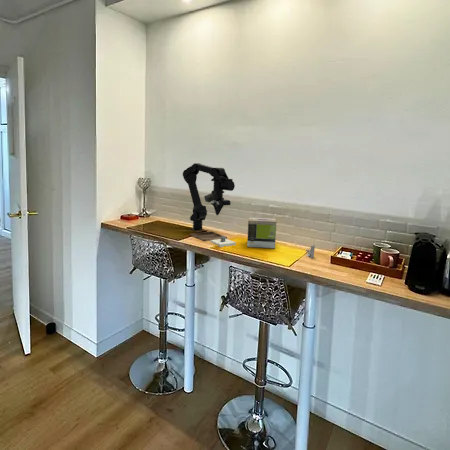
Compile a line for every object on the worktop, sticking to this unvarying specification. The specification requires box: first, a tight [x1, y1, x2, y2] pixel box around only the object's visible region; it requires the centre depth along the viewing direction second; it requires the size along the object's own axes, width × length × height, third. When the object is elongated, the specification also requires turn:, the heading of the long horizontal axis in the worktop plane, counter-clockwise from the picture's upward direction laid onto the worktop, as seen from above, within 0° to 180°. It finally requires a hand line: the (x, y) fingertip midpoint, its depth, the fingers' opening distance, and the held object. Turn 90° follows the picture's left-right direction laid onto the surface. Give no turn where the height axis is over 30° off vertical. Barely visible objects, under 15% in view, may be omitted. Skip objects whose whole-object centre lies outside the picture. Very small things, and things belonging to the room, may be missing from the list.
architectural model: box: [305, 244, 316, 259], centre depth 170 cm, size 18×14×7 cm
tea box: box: [246, 217, 277, 249], centre depth 189 cm, size 15×10×15 cm, turn 84°
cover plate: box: [209, 235, 237, 248], centre depth 190 cm, size 10×10×5 cm
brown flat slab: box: [189, 230, 228, 242], centre depth 202 cm, size 16×15×2 cm
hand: (217, 215), depth 209 cm, fingers closed
